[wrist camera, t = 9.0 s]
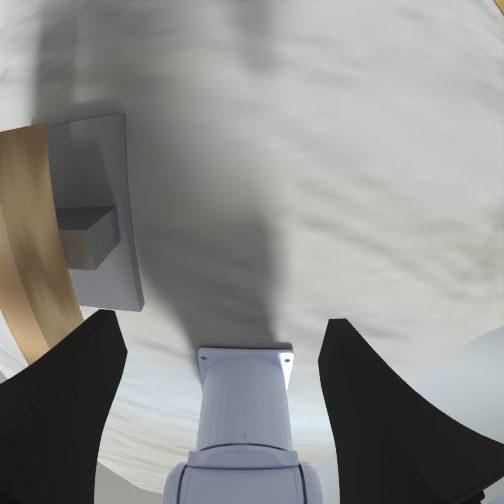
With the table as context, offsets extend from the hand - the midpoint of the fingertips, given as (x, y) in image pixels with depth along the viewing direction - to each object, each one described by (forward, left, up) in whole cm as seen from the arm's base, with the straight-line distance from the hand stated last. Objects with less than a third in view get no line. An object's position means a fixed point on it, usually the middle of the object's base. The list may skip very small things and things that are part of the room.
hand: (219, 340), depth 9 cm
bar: (0, +11, -5) cm, 12 cm away
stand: (0, +11, -10) cm, 15 cm away
